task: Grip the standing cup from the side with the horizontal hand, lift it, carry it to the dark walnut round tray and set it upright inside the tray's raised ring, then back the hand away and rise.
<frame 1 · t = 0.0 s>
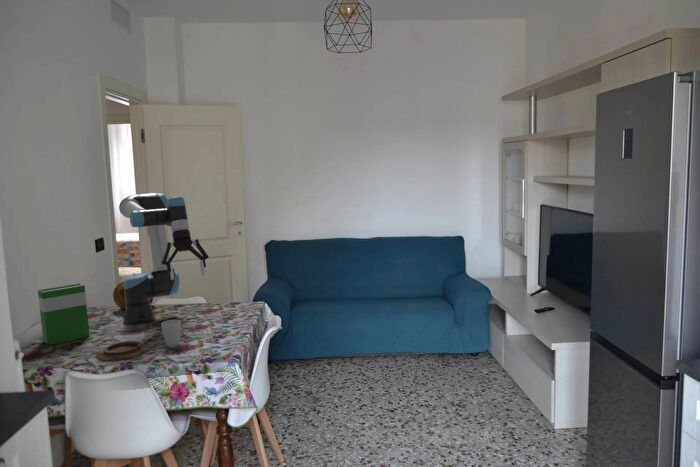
hand: (188, 277, 241), 28 cm above the table, tool tilted 20°, fingers open, 13 cm apart
round tray: (123, 352, 229), on the table
hardback book: (66, 339, 252), on the table
decorative pumpkin: (135, 308, 304), on the table
cup: (172, 345, 237), on the table
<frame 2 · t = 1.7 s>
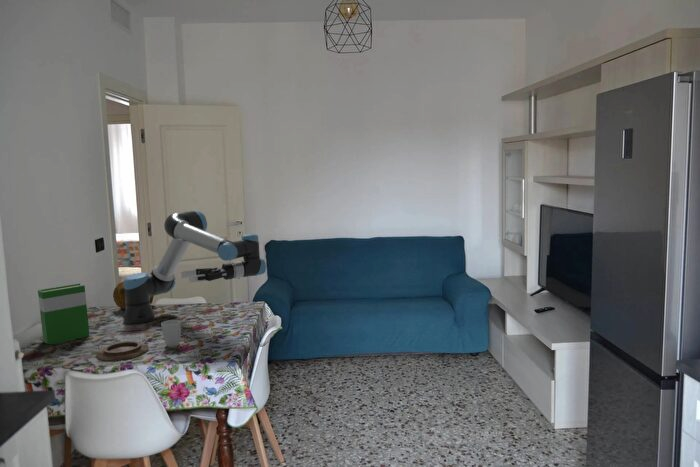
hand: (185, 277, 239), 28 cm above the table, tool horizontal, fingers open, 13 cm apart
nothing on the table moved.
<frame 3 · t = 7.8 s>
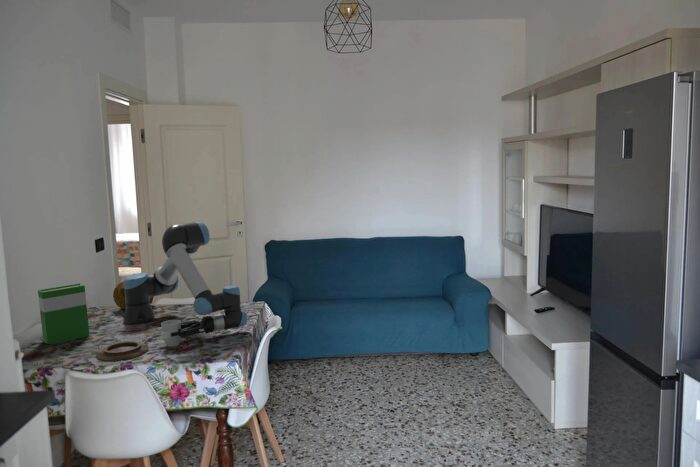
hand: (160, 333, 233), 6 cm above the table, tool horizontal, fingers closed on cup, 8 cm apart
cup: (172, 345, 237), on the table, touching gripper
everything else where it was.
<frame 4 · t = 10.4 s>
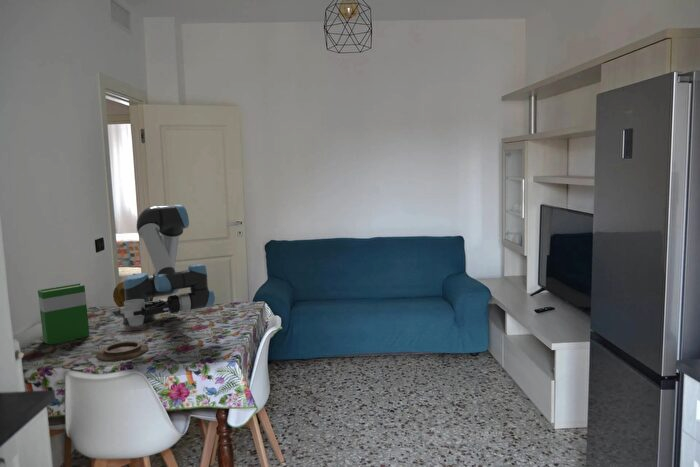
hand: (122, 312, 225), 17 cm above the table, tool horizontal, fingers closed on cup, 8 cm apart
cup: (136, 325, 229), point 11 cm above the table, touching gripper
everything else where it was.
when the fingers open (8 cm above the table, at t = 13.0 s): cup drops 1 cm, point 1 cm above the table.
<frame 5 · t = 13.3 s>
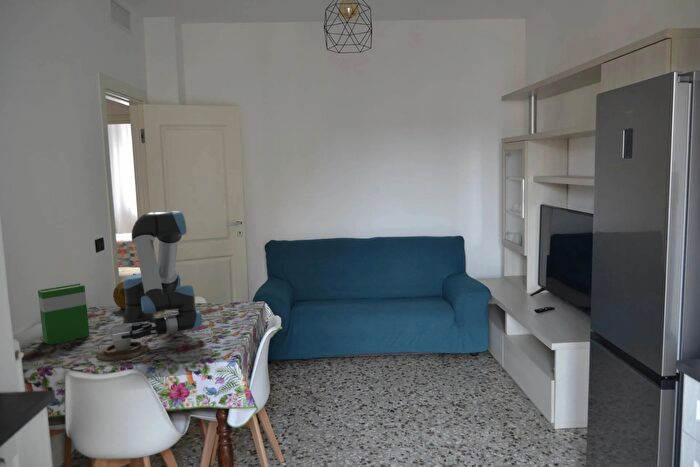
hand: (110, 334, 226), 8 cm above the table, tool horizontal, fingers open, 10 cm apart
cup: (122, 349, 230), point 1 cm above the table, touching gripper
everything else where it was.
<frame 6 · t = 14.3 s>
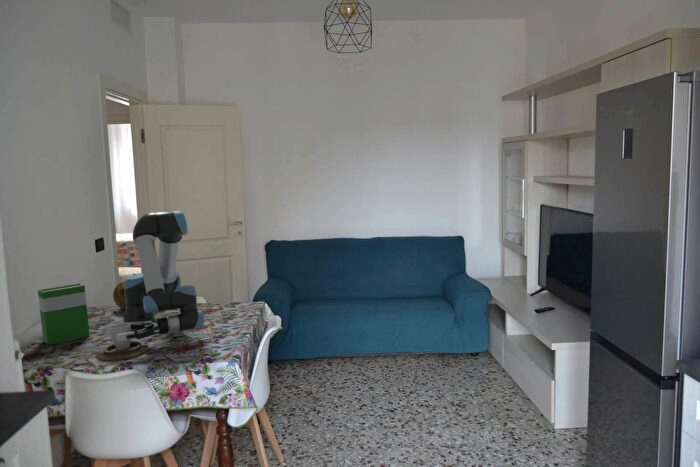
hand: (114, 334, 227), 8 cm above the table, tool horizontal, fingers open, 13 cm apart
cup: (123, 348, 231), point 1 cm above the table, touching round tray
everything else where it was.
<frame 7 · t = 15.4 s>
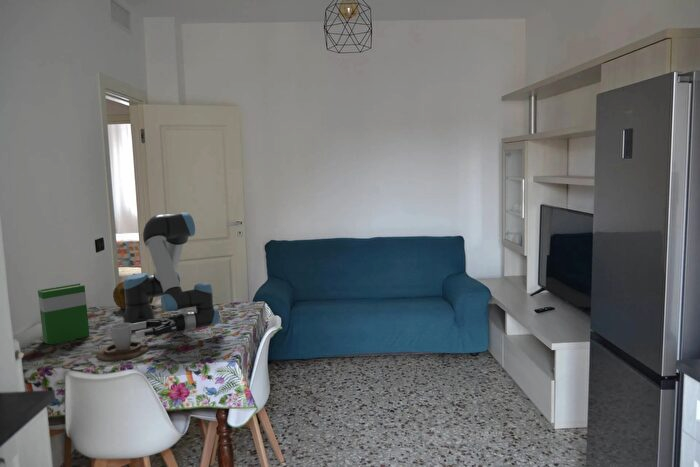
hand: (132, 331, 230), 8 cm above the table, tool horizontal, fingers open, 13 cm apart
nothing on the table moved.
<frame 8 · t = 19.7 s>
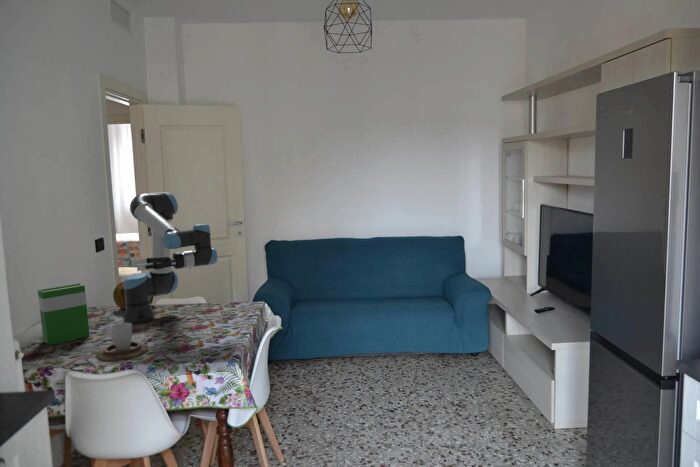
hand: (134, 265, 240), 34 cm above the table, tool horizontal, fingers open, 13 cm apart
nothing on the table moved.
at the end: cup 2.3 cm off-centre on the round tray, point 0.8 cm above the round tray's base; cup tilted 0°; the gripper is holding nothing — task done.
